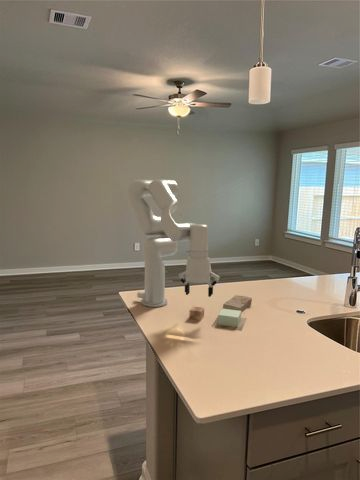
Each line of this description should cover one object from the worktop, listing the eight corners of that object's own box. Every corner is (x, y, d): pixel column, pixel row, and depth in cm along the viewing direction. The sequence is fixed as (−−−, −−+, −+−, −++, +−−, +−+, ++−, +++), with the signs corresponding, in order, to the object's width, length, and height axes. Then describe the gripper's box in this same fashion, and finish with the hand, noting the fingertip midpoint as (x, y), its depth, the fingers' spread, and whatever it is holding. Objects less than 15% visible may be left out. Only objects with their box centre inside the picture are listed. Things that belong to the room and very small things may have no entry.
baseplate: (211, 328, 143) (211, 326, 143) (218, 316, 156) (218, 314, 156) (241, 333, 140) (241, 330, 139) (246, 320, 153) (246, 318, 153)
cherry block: (189, 321, 151) (189, 310, 150) (192, 317, 155) (192, 306, 155) (200, 323, 149) (201, 311, 148) (203, 319, 154) (204, 307, 153)
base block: (217, 324, 145) (218, 314, 145) (222, 317, 153) (222, 308, 152) (237, 327, 143) (238, 317, 142) (240, 320, 150) (241, 310, 150)
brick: (239, 317, 158) (239, 306, 157) (221, 313, 162) (221, 303, 161) (251, 306, 172) (252, 297, 171) (235, 303, 176) (235, 294, 175)
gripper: (175, 254, 147) (176, 295, 149) (217, 257, 142) (217, 299, 144) (181, 252, 154) (181, 291, 156) (221, 254, 149) (221, 294, 151)
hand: (198, 295), depth 150 cm, fingers open, 9 cm apart
